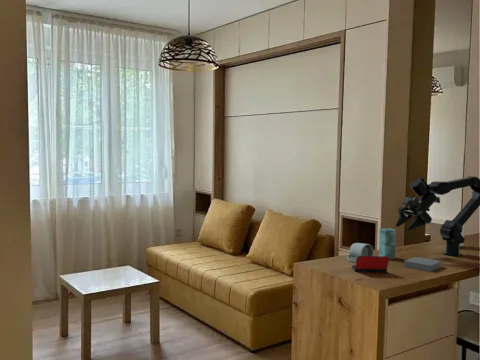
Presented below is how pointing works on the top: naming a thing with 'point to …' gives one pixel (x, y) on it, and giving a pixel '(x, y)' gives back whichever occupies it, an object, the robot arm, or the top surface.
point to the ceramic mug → (359, 251)
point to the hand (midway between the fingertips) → (402, 228)
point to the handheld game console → (371, 264)
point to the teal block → (387, 242)
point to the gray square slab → (422, 264)
